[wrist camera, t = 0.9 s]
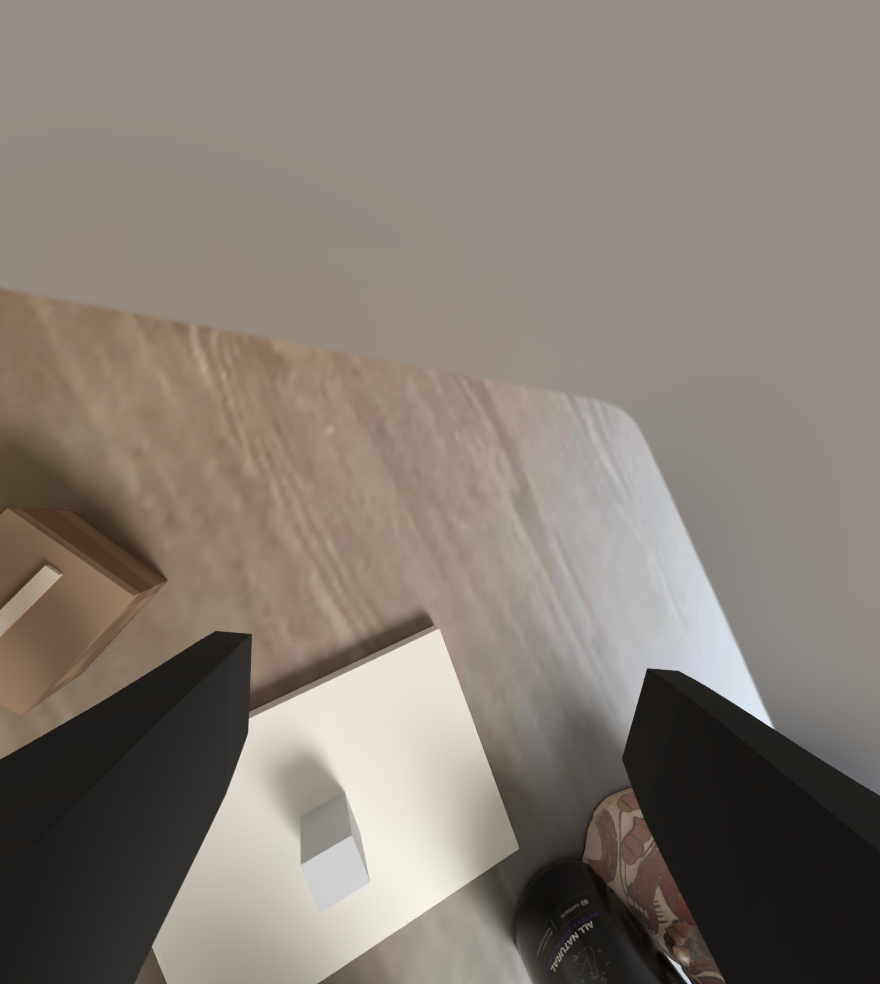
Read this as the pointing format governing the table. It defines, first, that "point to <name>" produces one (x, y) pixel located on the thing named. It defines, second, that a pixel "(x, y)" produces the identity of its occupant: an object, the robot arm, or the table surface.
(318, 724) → the board
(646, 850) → the figurine
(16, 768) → the robot arm
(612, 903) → the supplement bottle
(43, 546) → the walnut knob
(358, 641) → the table surface
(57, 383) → the table surface
